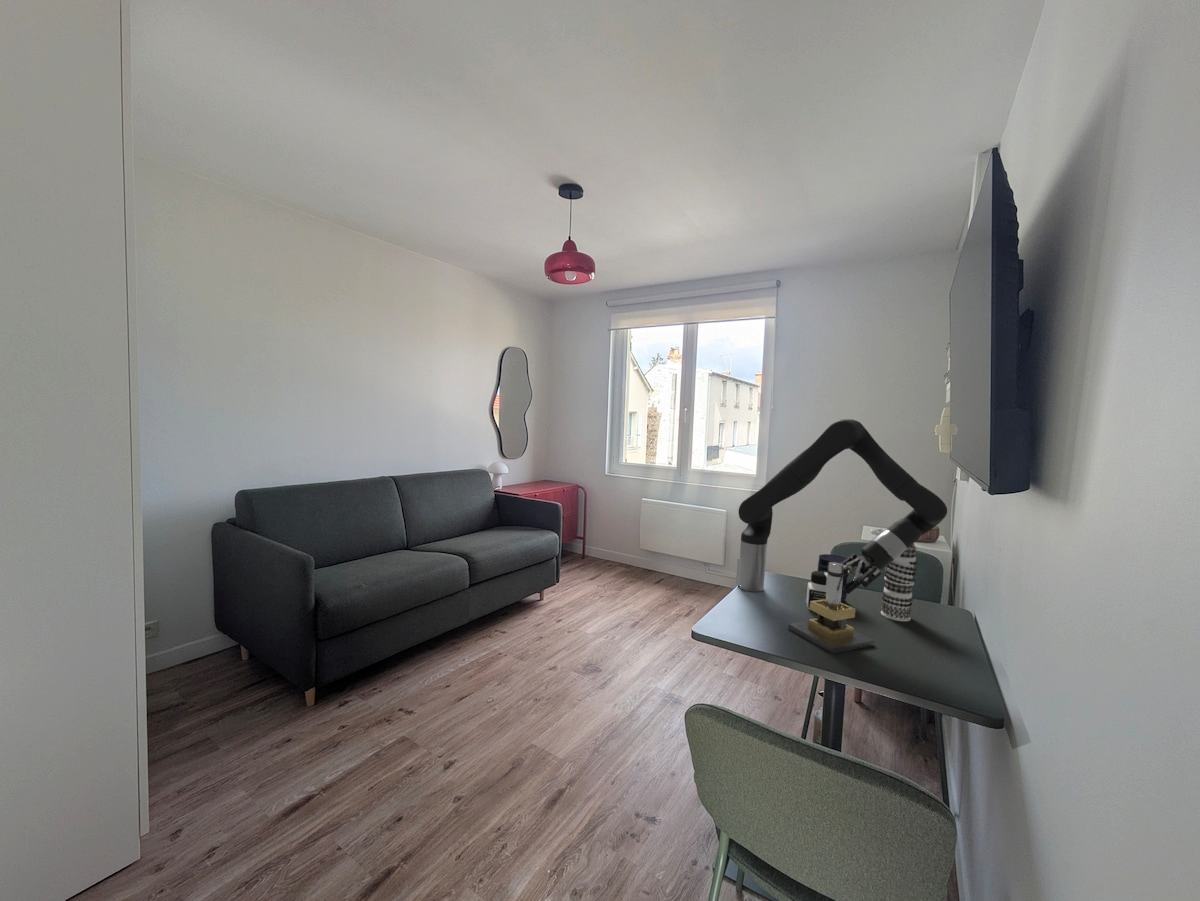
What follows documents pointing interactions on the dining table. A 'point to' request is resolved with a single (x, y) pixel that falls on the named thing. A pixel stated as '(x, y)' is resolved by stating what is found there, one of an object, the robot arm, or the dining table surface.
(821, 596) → the medicine bottle
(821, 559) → the storage jar
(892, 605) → the decorative candle
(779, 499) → the robot arm
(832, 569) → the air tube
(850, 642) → the collar stand
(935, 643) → the dining table surface
